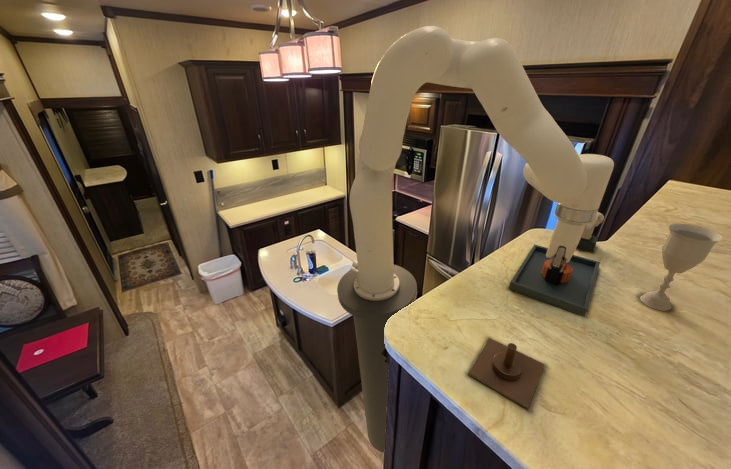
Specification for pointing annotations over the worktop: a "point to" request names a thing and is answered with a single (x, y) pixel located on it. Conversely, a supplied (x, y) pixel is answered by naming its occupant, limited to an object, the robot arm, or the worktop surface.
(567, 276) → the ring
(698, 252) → the chalice
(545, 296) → the tray
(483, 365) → the stand
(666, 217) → the worktop surface
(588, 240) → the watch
